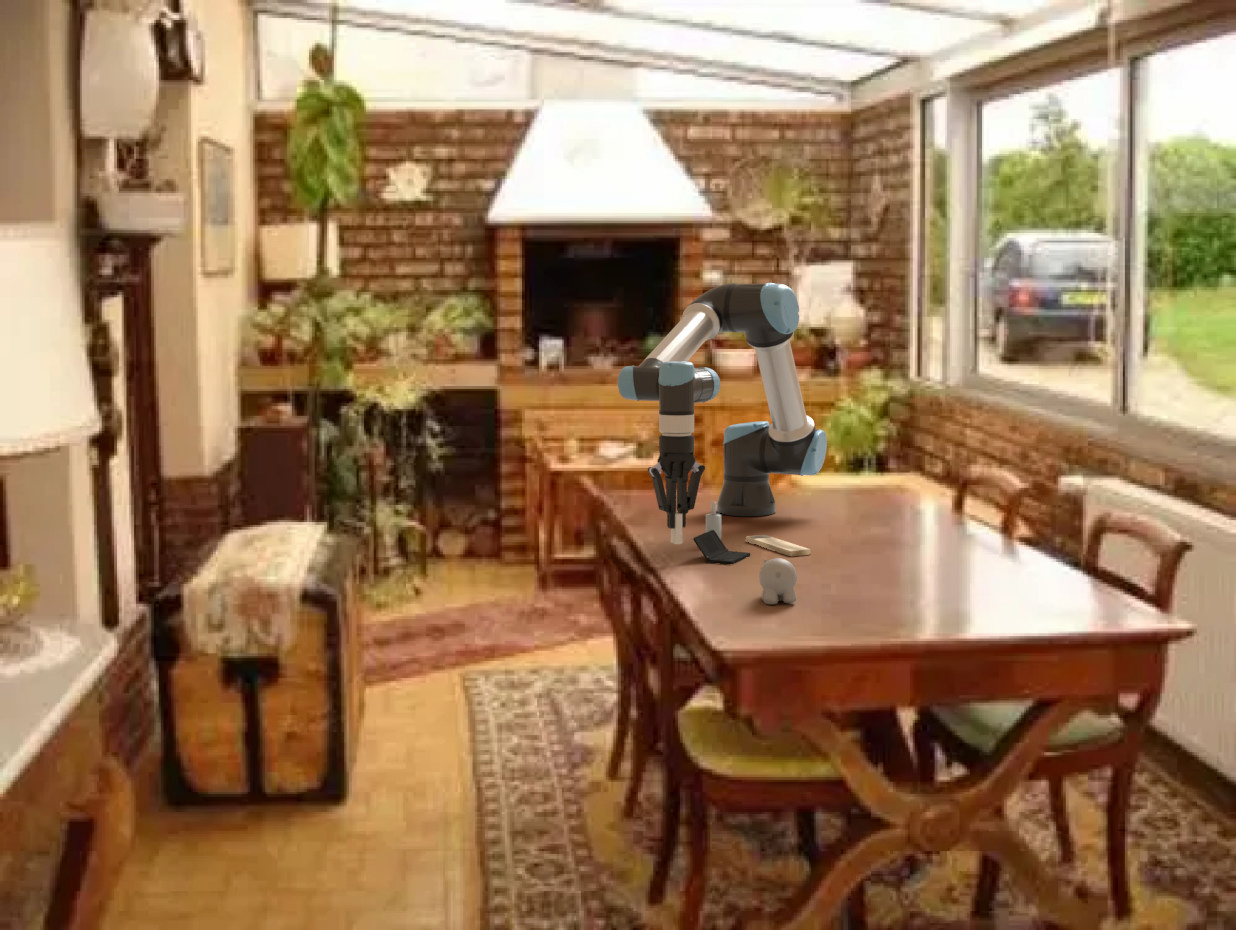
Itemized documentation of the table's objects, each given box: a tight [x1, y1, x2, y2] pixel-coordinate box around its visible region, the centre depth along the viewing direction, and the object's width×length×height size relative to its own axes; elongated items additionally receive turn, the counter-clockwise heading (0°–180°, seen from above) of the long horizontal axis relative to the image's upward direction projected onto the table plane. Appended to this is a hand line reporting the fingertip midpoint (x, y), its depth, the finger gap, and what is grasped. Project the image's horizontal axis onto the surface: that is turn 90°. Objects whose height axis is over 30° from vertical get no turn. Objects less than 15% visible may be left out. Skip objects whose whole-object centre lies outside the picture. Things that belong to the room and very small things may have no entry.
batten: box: [745, 534, 811, 558], centre depth 348 cm, size 5×20×1 cm, turn 25°
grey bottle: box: [705, 501, 722, 541], centre depth 352 cm, size 4×4×10 cm
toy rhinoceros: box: [758, 557, 798, 606], centre depth 296 cm, size 7×12×8 cm, turn 3°
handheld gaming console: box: [692, 530, 751, 565], centre depth 337 cm, size 12×7×10 cm
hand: (676, 542), depth 332 cm, fingers closed
